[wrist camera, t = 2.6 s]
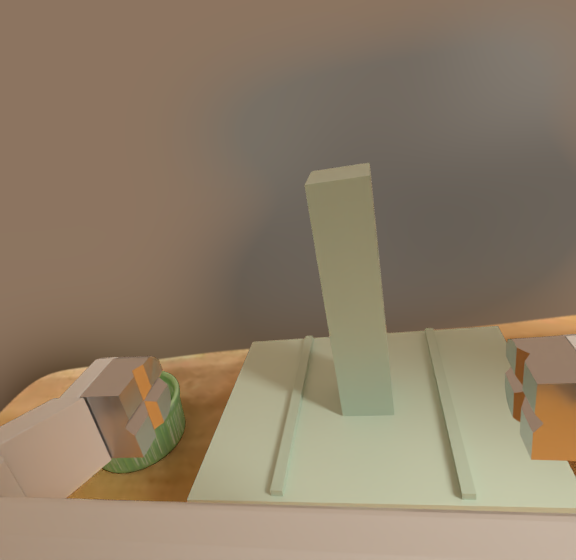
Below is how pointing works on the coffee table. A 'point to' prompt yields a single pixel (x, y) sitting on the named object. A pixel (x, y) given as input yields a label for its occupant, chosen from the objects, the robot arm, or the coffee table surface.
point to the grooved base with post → (374, 399)
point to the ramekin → (157, 434)
